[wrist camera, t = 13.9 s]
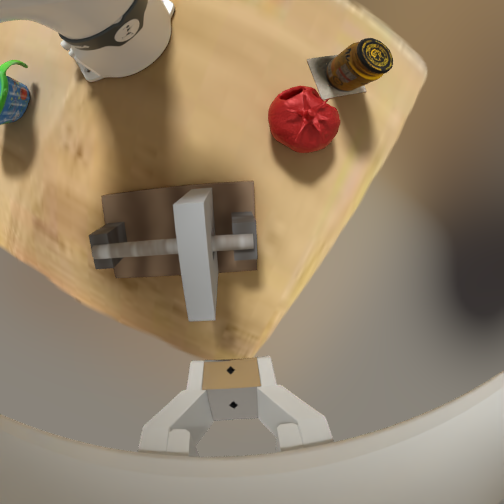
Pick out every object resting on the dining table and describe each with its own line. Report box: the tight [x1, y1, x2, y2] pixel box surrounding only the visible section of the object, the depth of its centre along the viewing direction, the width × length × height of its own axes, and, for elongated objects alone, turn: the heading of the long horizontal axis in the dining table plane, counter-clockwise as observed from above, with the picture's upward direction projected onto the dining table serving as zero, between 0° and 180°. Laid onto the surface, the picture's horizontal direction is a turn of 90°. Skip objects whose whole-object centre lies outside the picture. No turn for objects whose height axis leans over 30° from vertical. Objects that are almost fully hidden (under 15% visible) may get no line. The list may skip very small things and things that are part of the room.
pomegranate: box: [268, 86, 340, 153], centre depth 34 cm, size 10×10×9 cm
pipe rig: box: [89, 181, 257, 278], centre depth 38 cm, size 24×14×9 cm, turn 92°
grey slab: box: [173, 188, 218, 321], centre depth 35 cm, size 3×13×14 cm, turn 2°
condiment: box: [307, 38, 393, 100], centre depth 31 cm, size 7×8×12 cm
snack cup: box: [0, 60, 30, 125], centre depth 26 cm, size 16×10×10 cm
